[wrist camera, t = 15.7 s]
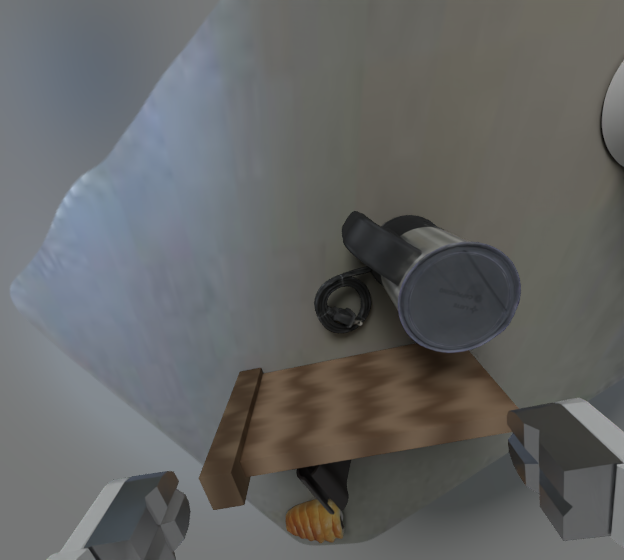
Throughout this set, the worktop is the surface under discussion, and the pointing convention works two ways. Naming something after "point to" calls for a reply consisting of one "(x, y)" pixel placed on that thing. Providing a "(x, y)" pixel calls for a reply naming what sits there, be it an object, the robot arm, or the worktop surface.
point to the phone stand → (327, 482)
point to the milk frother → (426, 283)
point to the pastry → (315, 521)
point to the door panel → (349, 414)
